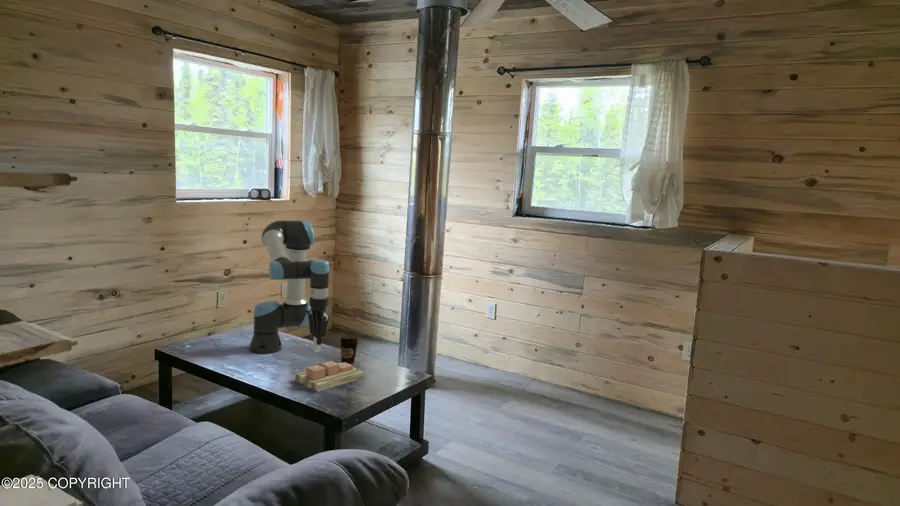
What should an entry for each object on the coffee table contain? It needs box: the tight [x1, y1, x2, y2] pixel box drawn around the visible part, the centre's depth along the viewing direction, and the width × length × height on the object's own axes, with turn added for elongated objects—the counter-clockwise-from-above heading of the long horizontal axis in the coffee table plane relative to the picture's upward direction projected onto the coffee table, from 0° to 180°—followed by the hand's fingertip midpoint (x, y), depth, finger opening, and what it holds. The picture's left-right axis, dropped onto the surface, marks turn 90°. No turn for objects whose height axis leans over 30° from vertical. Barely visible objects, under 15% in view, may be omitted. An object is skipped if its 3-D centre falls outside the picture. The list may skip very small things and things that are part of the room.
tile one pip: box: [305, 364, 325, 381], centre depth 235 cm, size 6×6×5 cm
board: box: [294, 361, 364, 393], centre depth 242 cm, size 16×24×3 cm, turn 139°
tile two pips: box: [320, 360, 339, 377], centre depth 241 cm, size 6×6×5 cm
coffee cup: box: [339, 334, 359, 366], centre depth 262 cm, size 9×8×13 cm
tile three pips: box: [339, 362, 354, 373], centre depth 247 cm, size 6×6×5 cm
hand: (316, 351), depth 234 cm, fingers closed
